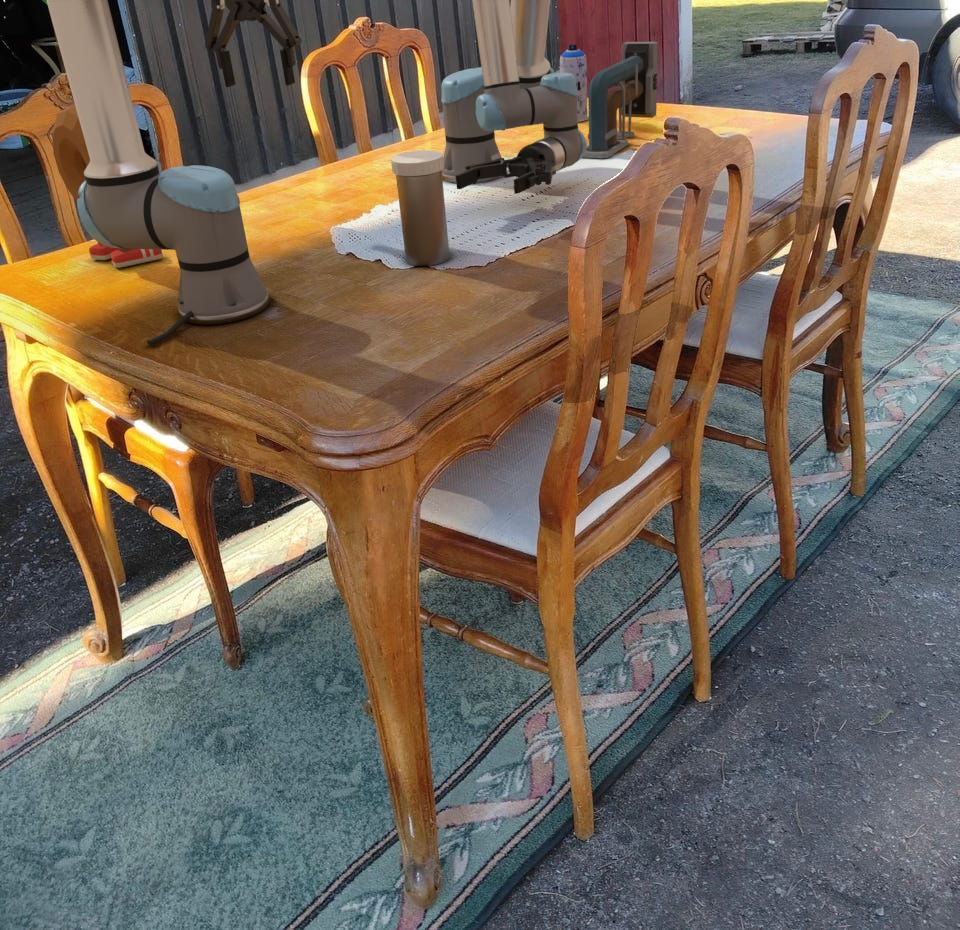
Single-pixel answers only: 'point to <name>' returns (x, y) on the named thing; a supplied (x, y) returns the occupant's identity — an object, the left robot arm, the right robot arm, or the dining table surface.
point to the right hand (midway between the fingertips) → (486, 184)
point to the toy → (71, 168)
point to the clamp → (621, 98)
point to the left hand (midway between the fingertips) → (260, 85)
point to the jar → (423, 219)
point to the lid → (417, 163)
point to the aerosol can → (577, 76)
